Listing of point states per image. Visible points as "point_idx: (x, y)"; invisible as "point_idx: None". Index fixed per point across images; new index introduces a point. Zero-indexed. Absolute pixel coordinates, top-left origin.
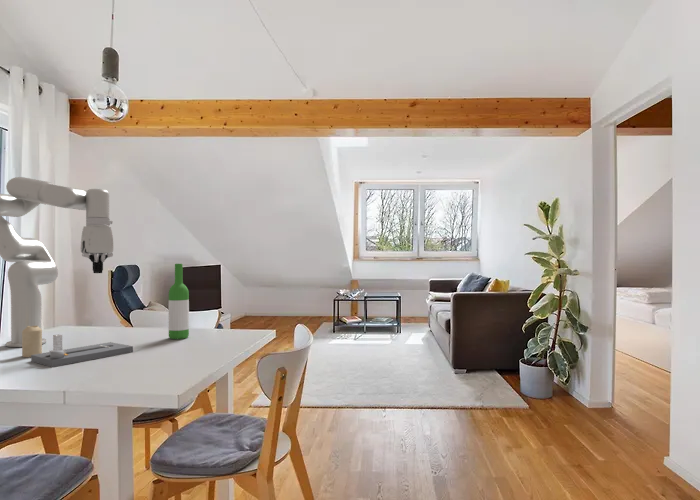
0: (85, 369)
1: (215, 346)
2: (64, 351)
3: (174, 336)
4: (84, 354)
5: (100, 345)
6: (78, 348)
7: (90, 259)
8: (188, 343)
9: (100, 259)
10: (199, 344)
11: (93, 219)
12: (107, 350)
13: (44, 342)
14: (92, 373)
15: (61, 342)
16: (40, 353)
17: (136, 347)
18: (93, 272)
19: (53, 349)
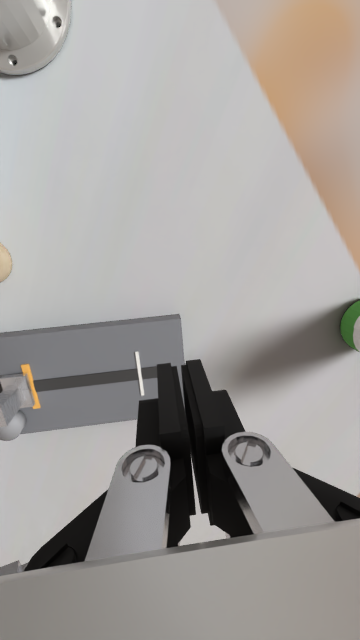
0: (51, 484)
1: (324, 469)
2: (29, 406)
3: (344, 339)
4: (70, 425)
5: (136, 355)
6: (84, 344)
7: (88, 523)
8: (320, 404)
9: (234, 530)
10: (323, 431)
11: None
12: (125, 418)
13: (57, 50)
14: (51, 516)
15: (14, 413)
16: (4, 279)
17: (221, 360)
18: (157, 364)
19: (6, 388)
